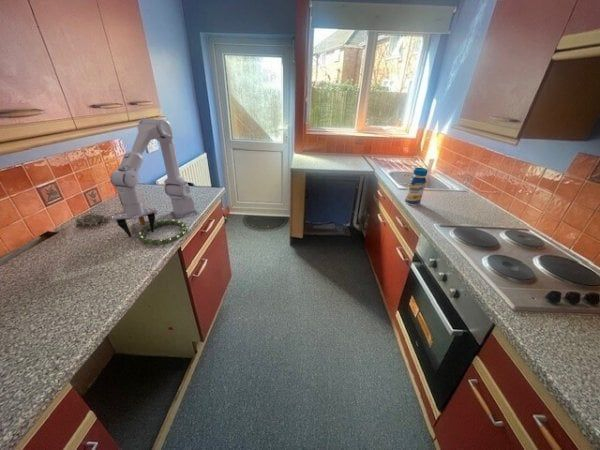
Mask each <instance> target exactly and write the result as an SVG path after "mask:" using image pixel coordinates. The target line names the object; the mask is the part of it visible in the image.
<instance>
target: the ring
mask: <svg viewBox="0 0 600 450" xmlns="http://www.w3.org/2000/svg"><path fill="white" fill-rule="evenodd" d="M162 226H163V227H164V226H178V227H179V228H181V231H180V232H179V233H177V234H175V235H173V236H171V237H168V238H163V239H153V238H148V237H147V236H146V235H147V233H148V232H150V231H151V228H150V223H148V224H146V225H144V226H142V228H140V229H139V232H138V233H137V237H138V241H139V242H141V243H142V244H144V245H150V246H158V245H159V246H160V245H167V244H169V243H174V242H175V241H178V240H181V239H183V238H184V236H186V235H187V234H188V232H189V227H188V224H187V223H185V222H184V221H182V220H178V219H162V220H156V221H154V225H153V229H155V228H158V227H162Z"/></svg>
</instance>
